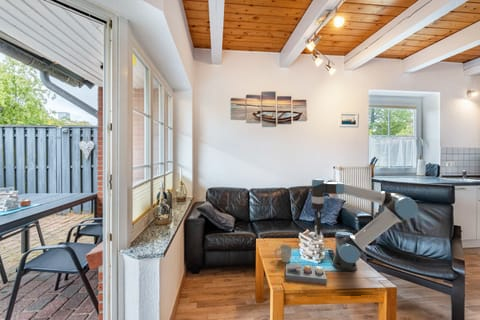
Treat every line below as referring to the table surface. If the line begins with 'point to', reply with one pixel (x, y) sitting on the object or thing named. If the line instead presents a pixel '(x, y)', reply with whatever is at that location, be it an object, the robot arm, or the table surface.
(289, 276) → the panel
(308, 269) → the button terracotta
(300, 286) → the table surface
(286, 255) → the mug
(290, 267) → the rocker
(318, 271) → the button cream
